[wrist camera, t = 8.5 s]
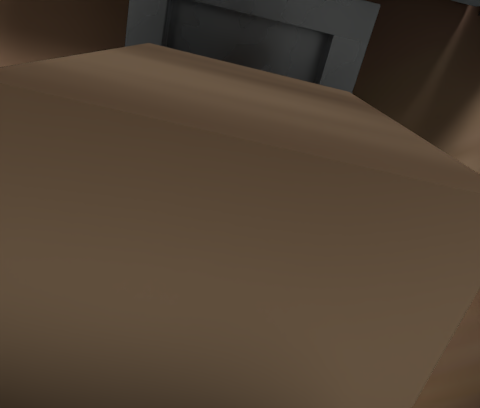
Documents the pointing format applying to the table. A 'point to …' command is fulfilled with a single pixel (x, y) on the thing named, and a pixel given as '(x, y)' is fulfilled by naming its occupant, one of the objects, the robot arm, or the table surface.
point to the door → (469, 2)
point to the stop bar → (220, 239)
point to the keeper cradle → (263, 34)
